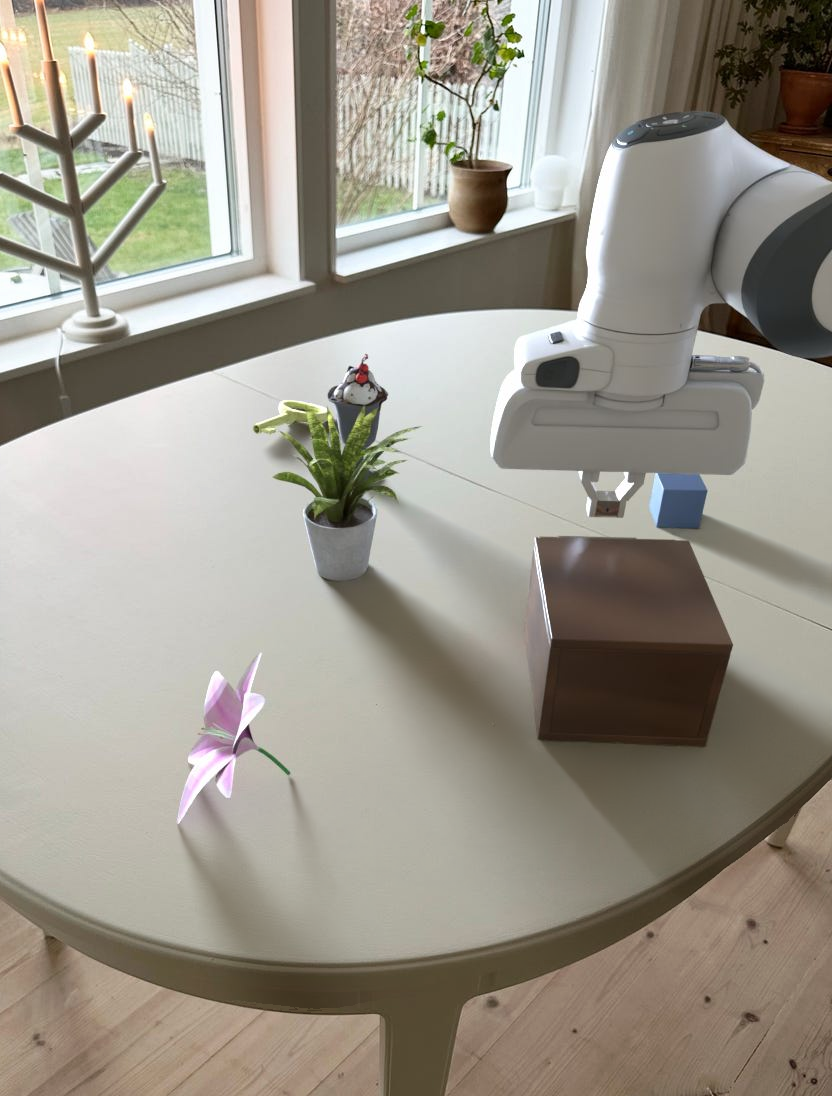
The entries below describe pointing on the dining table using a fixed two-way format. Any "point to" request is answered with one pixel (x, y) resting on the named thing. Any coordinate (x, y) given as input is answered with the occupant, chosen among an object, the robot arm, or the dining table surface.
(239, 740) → the lily
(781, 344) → the robot arm
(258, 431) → the key
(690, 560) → the cabinet
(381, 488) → the house plant
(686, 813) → the dining table surface
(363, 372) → the sundae
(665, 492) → the block
